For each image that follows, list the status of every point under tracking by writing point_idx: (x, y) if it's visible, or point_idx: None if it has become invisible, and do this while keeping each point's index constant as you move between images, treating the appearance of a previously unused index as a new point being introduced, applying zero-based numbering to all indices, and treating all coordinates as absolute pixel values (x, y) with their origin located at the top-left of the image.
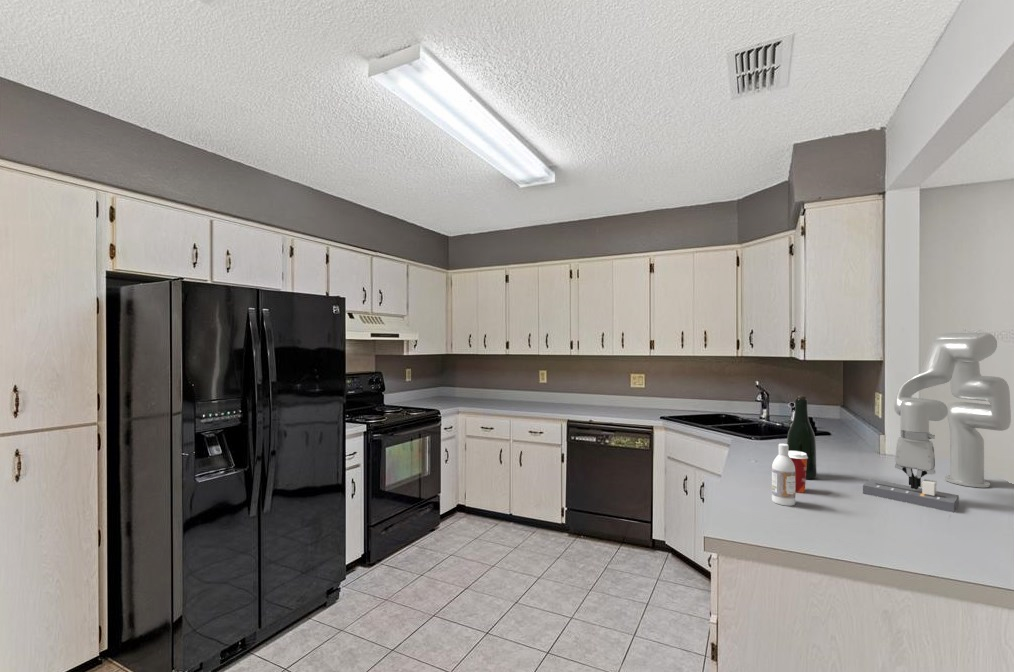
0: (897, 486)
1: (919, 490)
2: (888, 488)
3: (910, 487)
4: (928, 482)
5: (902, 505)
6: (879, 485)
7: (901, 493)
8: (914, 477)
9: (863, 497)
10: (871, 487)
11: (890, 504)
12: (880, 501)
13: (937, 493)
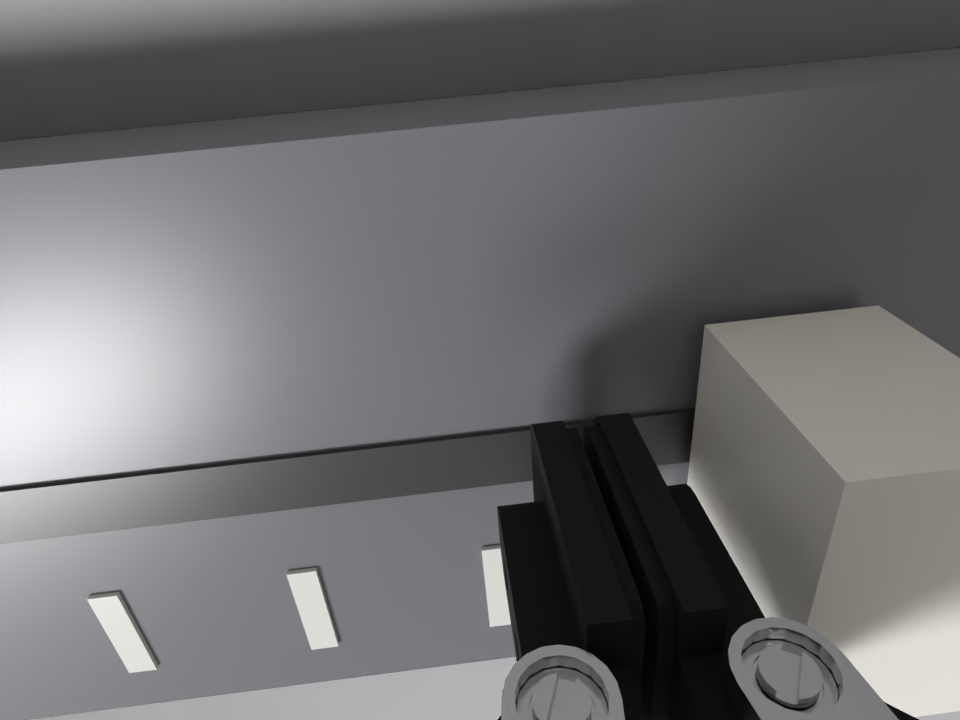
0: (273, 389)
1: (617, 338)
2: (260, 611)
3: (449, 249)
4: (883, 695)
5: (498, 662)
6: (92, 573)
7: (457, 654)
8: (637, 679)
9: (162, 714)
10: (104, 703)
11: (417, 710)
12: (321, 703)
13: (884, 275)
